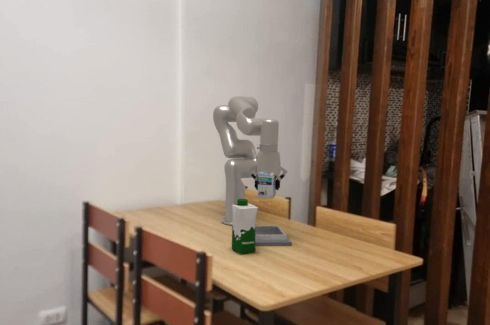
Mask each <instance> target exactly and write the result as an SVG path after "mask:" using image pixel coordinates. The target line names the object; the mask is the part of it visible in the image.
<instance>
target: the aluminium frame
mask: <svg viewBox="0 0 490 325" xmlns="http://www.w3.org/2000/svg"><path fill="white" fill-rule="evenodd" d="M256 232H277V233H278V234H271V235H255V241H287V237H288V234H287V233H286V232H285V231H284V229H282V227H281V226H280V225H256Z"/></svg>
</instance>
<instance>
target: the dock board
mask: <svg viewBox="0 0 490 325" xmlns="http://www.w3.org/2000/svg"><path fill="white" fill-rule="evenodd" d="M271 234H278V233H277V232H256V235H271ZM292 245H293V242H292V241H291V239H290V238H289V237H288V236H287V241H255V247H291V246H292Z"/></svg>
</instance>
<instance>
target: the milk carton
mask: <svg viewBox="0 0 490 325" xmlns="http://www.w3.org/2000/svg"><path fill="white" fill-rule="evenodd" d="M248 201H249V200H248V199H247V198H245V199H238V201H237V204H235V205H232V212H233V222H232V225H231V228H232V229H231V250H233V251H234V252H235V253H237V254H238V255H244V254H252V253H256V246H255V235H256V226H257V214H258V210H259V207H258V206H256V205H254V204H251V203H249V202H248Z"/></svg>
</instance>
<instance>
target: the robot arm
mask: <svg viewBox="0 0 490 325" xmlns="http://www.w3.org/2000/svg"><path fill="white" fill-rule="evenodd" d="M258 110H259V102H258V101H257V99H256V98H254V97H253V96H252V97H251V96H239V95H237V96H233V97H231V98H230V99H229V100H228V102H227V104H223V105H221V104H220V105H217V106H216V107H215V108H214V110H213V112H212V113H213V115H212V120H213V123H214V126H215V129H216V130H217V133H218V135H219V139H220V144H221V147H222V151H223V155H224V156H225V157H226V158H227V159H229V160H227V161H225V164H224V175H225V208H224V209H225V211H224V217H223V218H222V219H221V223H222V224H224V225H228V226H232V222H233V212H232V205H235V204H237V201H238V199H246V186H245V184H244V182H243V180H242V179H251V178H252V179H253V180H254V188H255V190H256V191H258V173H275V176H276V191H279V190H280V188H281V181H282V179H284V178H285V176H286V175H287V174H288V170H287V169H285V168H283V166H281V154H280V152H279V150H278V149H279V148H278V147H279V121H278V120H277V119H271V118H258V117H256V113H257V112H258ZM255 117H256V118H255ZM230 123H236V128H237V129H238V130H239V131H240V132H241V133H242V135H245V136H251V137H252V136H257V137H259V138H260V139H259V145H256V147H255V144H254V143H253V141H251V140H249V139H241V138H238V134H237V130H235V128H234V127H233V126H232V124H230ZM256 150H259V151H258V153H257V152H256ZM281 172H282V173H281Z"/></svg>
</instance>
